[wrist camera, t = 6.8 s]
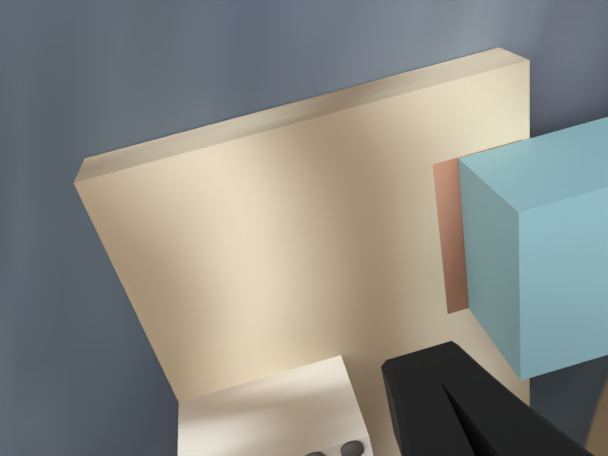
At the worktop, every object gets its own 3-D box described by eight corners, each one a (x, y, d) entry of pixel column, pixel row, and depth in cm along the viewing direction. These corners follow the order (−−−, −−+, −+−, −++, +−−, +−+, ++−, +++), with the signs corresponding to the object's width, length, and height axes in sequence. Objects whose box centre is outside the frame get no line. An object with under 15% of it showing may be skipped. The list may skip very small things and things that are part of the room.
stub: (468, 308, 17) (520, 380, 14) (458, 158, 14) (518, 212, 11) (625, 263, 17) (704, 325, 14) (642, 107, 14) (742, 149, 12)
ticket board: (228, 473, 20) (237, 606, 17) (84, 158, 14) (42, 254, 10) (508, 389, 21) (582, 499, 17) (499, 47, 14) (616, 96, 10)
